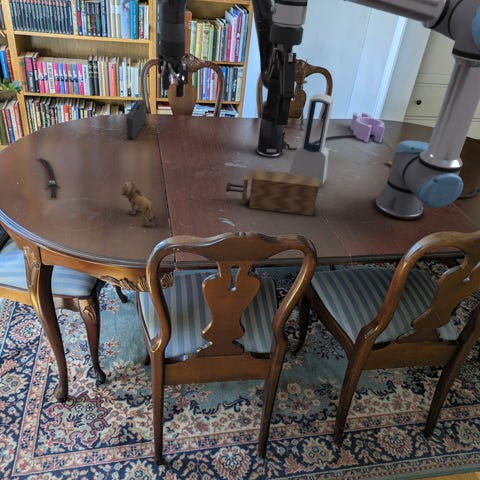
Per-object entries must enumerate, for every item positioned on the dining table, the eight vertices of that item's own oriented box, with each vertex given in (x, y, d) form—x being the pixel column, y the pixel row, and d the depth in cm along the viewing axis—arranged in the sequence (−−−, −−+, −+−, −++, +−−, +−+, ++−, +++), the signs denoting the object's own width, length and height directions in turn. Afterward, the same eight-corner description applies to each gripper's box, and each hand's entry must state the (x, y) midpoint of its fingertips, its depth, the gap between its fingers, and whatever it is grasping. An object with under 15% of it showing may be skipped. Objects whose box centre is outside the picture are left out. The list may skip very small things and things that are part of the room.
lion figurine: (118, 210, 138) (116, 182, 133) (132, 204, 141) (131, 177, 137) (151, 229, 130) (150, 201, 126) (165, 223, 134) (165, 195, 129)
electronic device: (325, 180, 169) (342, 97, 152) (321, 188, 163) (339, 103, 146) (292, 173, 172) (306, 91, 155) (287, 181, 165) (301, 96, 149)
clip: (343, 126, 223) (346, 112, 219) (367, 127, 225) (371, 113, 221) (360, 142, 206) (364, 127, 202) (386, 142, 209) (390, 127, 205)
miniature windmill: (301, 130, 212) (313, 61, 196) (283, 127, 213) (293, 58, 197) (303, 124, 220) (314, 57, 204) (285, 121, 221) (295, 54, 205)
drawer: (224, 201, 147) (226, 177, 142) (226, 194, 151) (228, 170, 147) (301, 210, 146) (306, 186, 142) (301, 203, 151) (305, 179, 146)
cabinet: (249, 207, 147) (252, 178, 141) (250, 198, 152) (253, 170, 147) (313, 215, 146) (318, 186, 141) (312, 206, 152) (317, 177, 146)
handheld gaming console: (138, 121, 203) (138, 98, 197) (145, 121, 203) (144, 98, 198) (126, 140, 184) (125, 115, 178) (133, 140, 184) (132, 115, 178)
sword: (61, 197, 141) (61, 193, 140) (50, 198, 139) (50, 194, 139) (49, 160, 164) (48, 156, 163) (39, 160, 163) (39, 157, 162)
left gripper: (196, 42, 136) (194, 98, 145) (171, 33, 145) (171, 86, 154) (174, 43, 132) (173, 100, 141) (150, 33, 141) (150, 88, 150)
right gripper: (262, 15, 117) (253, 99, 128) (282, 33, 96) (270, 132, 108) (291, 17, 118) (280, 101, 129) (318, 35, 97) (301, 133, 109)
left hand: (172, 93), depth 147 cm, fingers open, 8 cm apart
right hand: (275, 115), depth 118 cm, fingers open, 13 cm apart
